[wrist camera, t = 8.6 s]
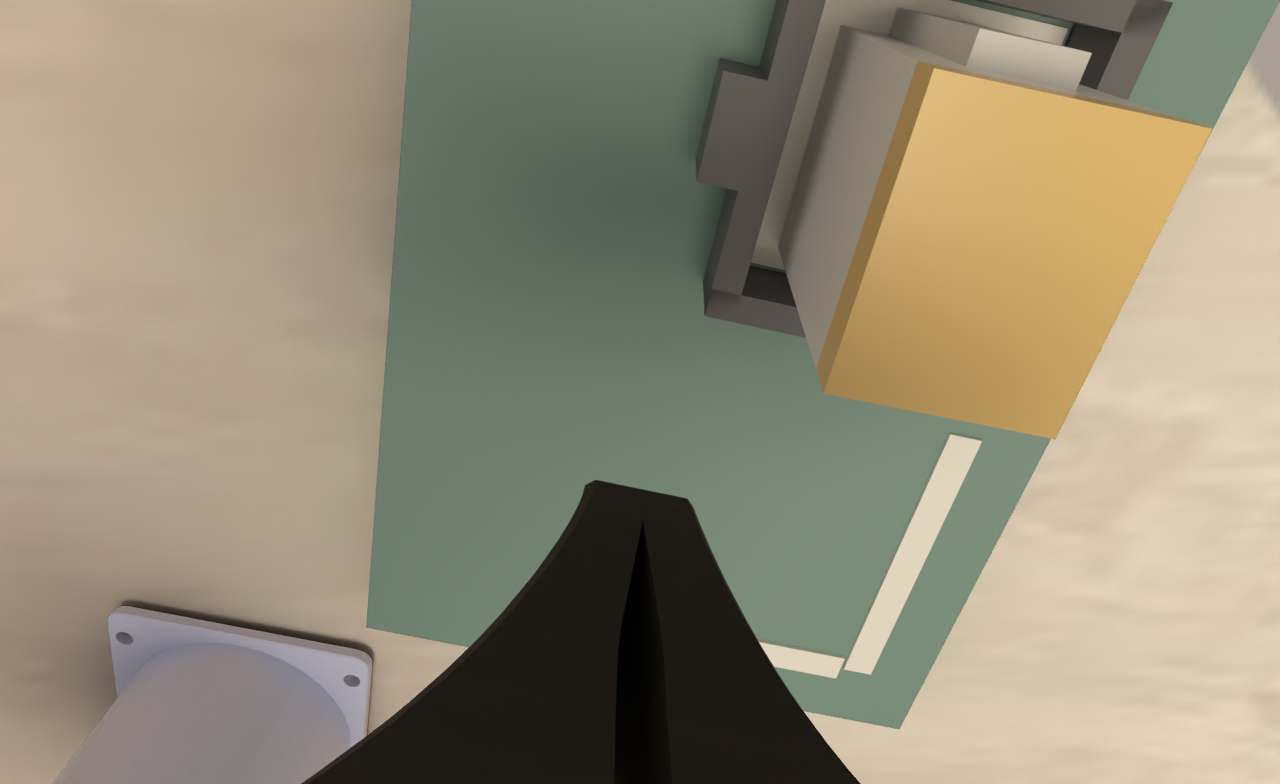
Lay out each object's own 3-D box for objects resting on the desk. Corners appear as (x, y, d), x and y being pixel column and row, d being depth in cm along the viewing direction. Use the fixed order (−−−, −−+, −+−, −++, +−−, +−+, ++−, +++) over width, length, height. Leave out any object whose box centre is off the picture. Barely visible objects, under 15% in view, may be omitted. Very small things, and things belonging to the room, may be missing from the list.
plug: (933, 279, 18) (1055, 439, 12) (777, 247, 18) (823, 393, 12) (1026, 35, 16) (1234, 86, 10) (848, -4, 16) (948, 23, 10)
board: (890, 697, 26) (915, 788, 23) (379, 598, 25) (340, 680, 22) (1295, -109, 16) (1429, -122, 13) (454, -322, 15) (399, -386, 12)
